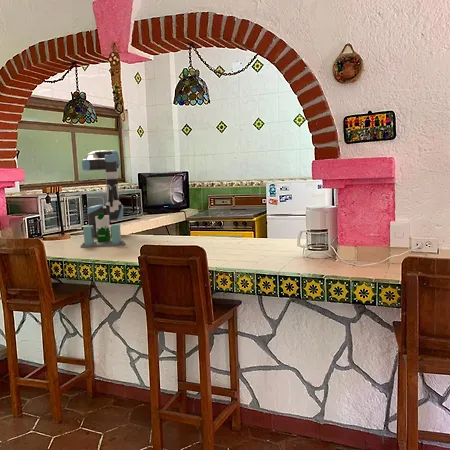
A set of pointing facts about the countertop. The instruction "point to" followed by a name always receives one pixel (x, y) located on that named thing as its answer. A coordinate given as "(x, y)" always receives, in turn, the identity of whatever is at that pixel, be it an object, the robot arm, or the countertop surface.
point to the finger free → (115, 233)
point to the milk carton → (102, 227)
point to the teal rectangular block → (88, 235)
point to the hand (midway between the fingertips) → (114, 211)
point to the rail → (103, 244)
